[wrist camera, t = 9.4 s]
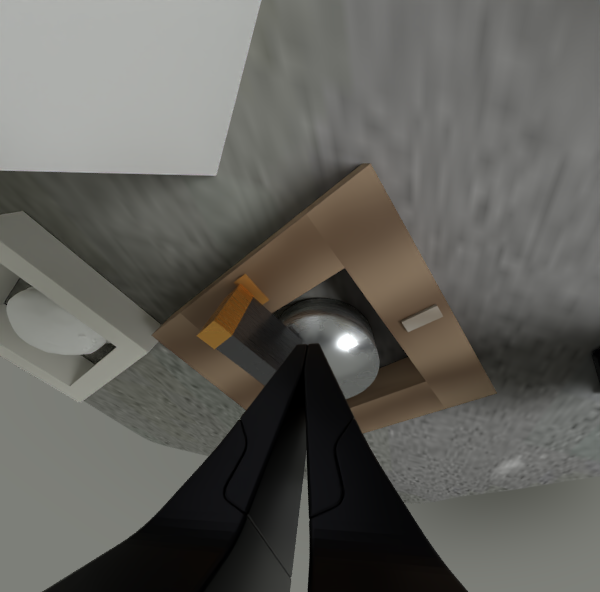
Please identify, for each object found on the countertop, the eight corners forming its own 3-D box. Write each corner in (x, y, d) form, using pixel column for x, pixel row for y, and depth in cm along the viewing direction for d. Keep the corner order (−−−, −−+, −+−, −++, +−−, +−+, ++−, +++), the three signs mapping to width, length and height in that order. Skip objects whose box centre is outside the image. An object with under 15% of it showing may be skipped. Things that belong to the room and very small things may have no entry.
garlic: (116, 297, 21) (78, 321, 18) (124, 348, 25) (94, 376, 22) (28, 272, 21) (-26, 293, 18) (49, 328, 24) (7, 353, 21)
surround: (475, 364, 21) (498, 395, 18) (301, 425, 28) (299, 454, 26) (362, 163, 14) (371, 163, 11) (172, 314, 21) (149, 336, 19)
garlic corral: (168, 330, 23) (148, 352, 20) (102, 380, 28) (79, 403, 25) (22, 211, 18) (-29, 219, 15) (-24, 298, 23) (-68, 315, 20)
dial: (392, 347, 21) (422, 429, 14) (316, 386, 24) (313, 466, 18) (287, 233, 16) (262, 277, 10) (214, 301, 20) (162, 365, 14)
